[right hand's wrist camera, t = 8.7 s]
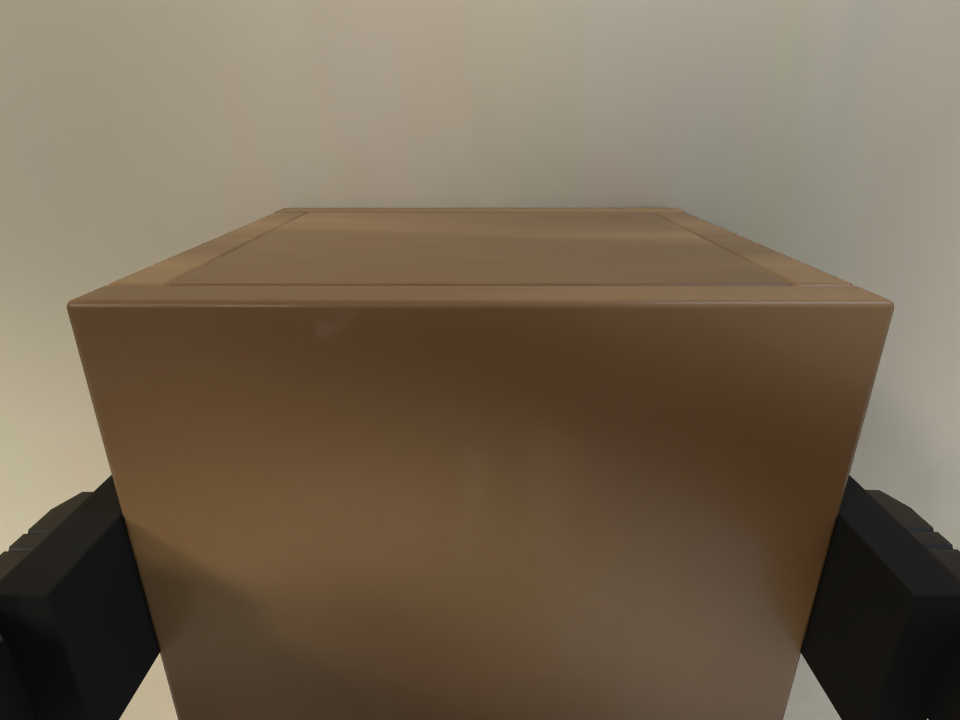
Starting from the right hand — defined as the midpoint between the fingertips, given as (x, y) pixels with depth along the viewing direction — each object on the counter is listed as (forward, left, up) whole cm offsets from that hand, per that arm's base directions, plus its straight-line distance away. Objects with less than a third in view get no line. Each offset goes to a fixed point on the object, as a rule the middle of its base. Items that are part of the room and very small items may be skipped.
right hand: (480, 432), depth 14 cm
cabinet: (+3, -3, -4) cm, 5 cm away
